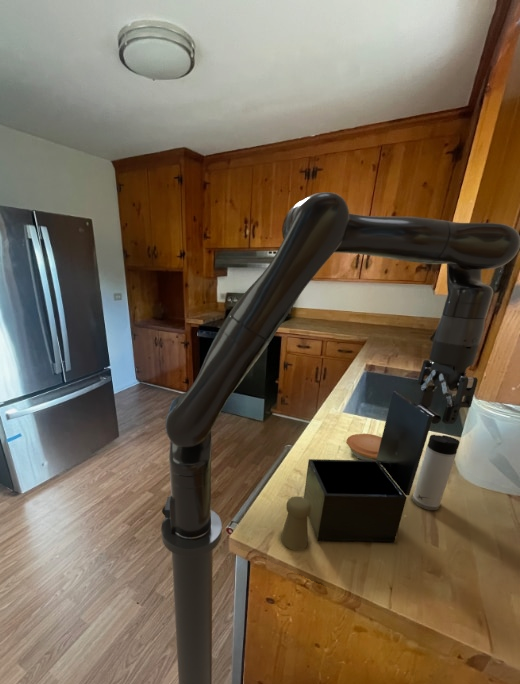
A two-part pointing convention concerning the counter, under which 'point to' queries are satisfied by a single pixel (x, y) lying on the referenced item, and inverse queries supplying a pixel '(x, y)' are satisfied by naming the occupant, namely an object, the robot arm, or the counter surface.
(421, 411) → the lid
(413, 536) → the counter surface
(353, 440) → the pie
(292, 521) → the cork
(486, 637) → the counter surface
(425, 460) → the travel mug
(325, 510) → the black open box
